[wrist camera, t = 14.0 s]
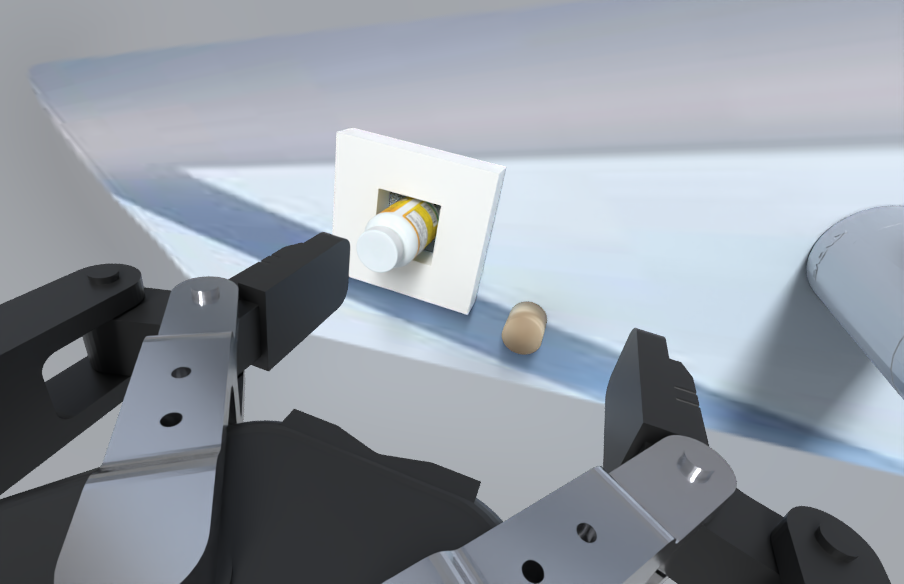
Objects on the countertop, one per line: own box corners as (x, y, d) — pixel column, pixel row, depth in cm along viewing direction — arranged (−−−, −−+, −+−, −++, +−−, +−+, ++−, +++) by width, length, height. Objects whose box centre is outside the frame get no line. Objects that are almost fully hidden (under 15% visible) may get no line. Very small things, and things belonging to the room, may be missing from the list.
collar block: (506, 166, 43) (499, 173, 40) (475, 301, 50) (467, 314, 48) (352, 127, 46) (336, 131, 43) (344, 260, 53) (330, 270, 51)
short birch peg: (551, 308, 48) (546, 328, 44) (540, 339, 50) (535, 359, 46) (515, 296, 48) (507, 314, 45) (505, 326, 50) (497, 346, 47)
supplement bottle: (447, 204, 46) (412, 237, 38) (434, 250, 49) (398, 289, 41) (399, 186, 47) (354, 213, 39) (389, 231, 50) (344, 266, 42)
